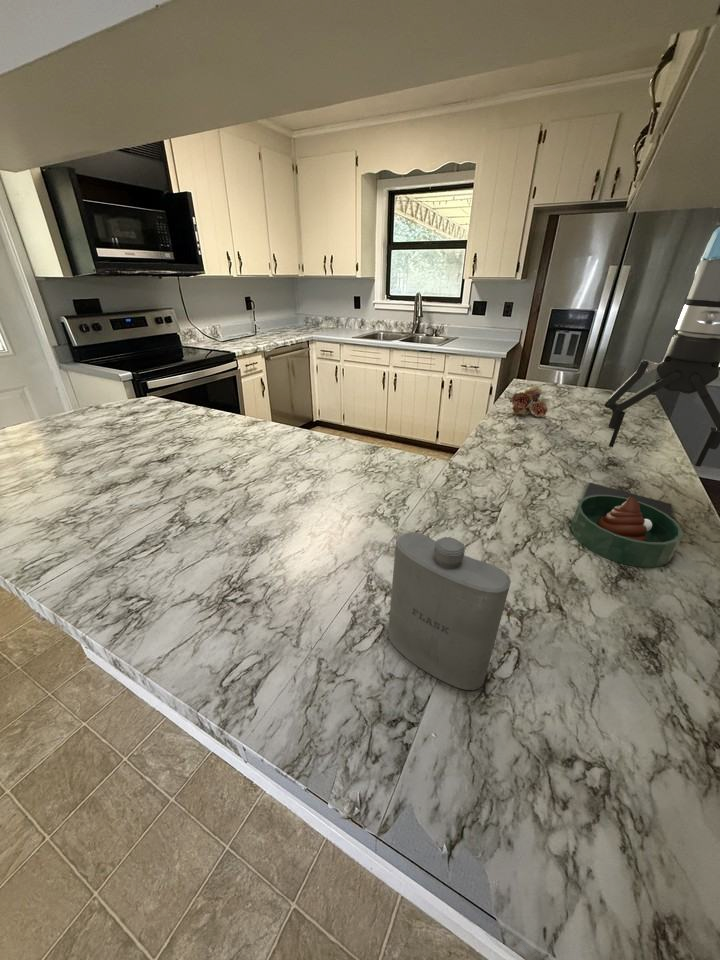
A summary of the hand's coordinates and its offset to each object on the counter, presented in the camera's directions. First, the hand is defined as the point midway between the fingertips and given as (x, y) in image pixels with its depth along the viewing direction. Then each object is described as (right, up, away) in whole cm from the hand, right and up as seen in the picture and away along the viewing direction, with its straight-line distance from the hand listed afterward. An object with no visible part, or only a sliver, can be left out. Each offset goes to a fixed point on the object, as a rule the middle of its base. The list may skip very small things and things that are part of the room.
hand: (652, 454), depth 74 cm
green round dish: (0, -17, +9) cm, 20 cm away
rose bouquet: (+11, +21, +83) cm, 86 cm away
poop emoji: (0, -17, +9) cm, 19 cm away
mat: (+10, -11, +22) cm, 27 cm away
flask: (-45, -30, -18) cm, 57 cm away
